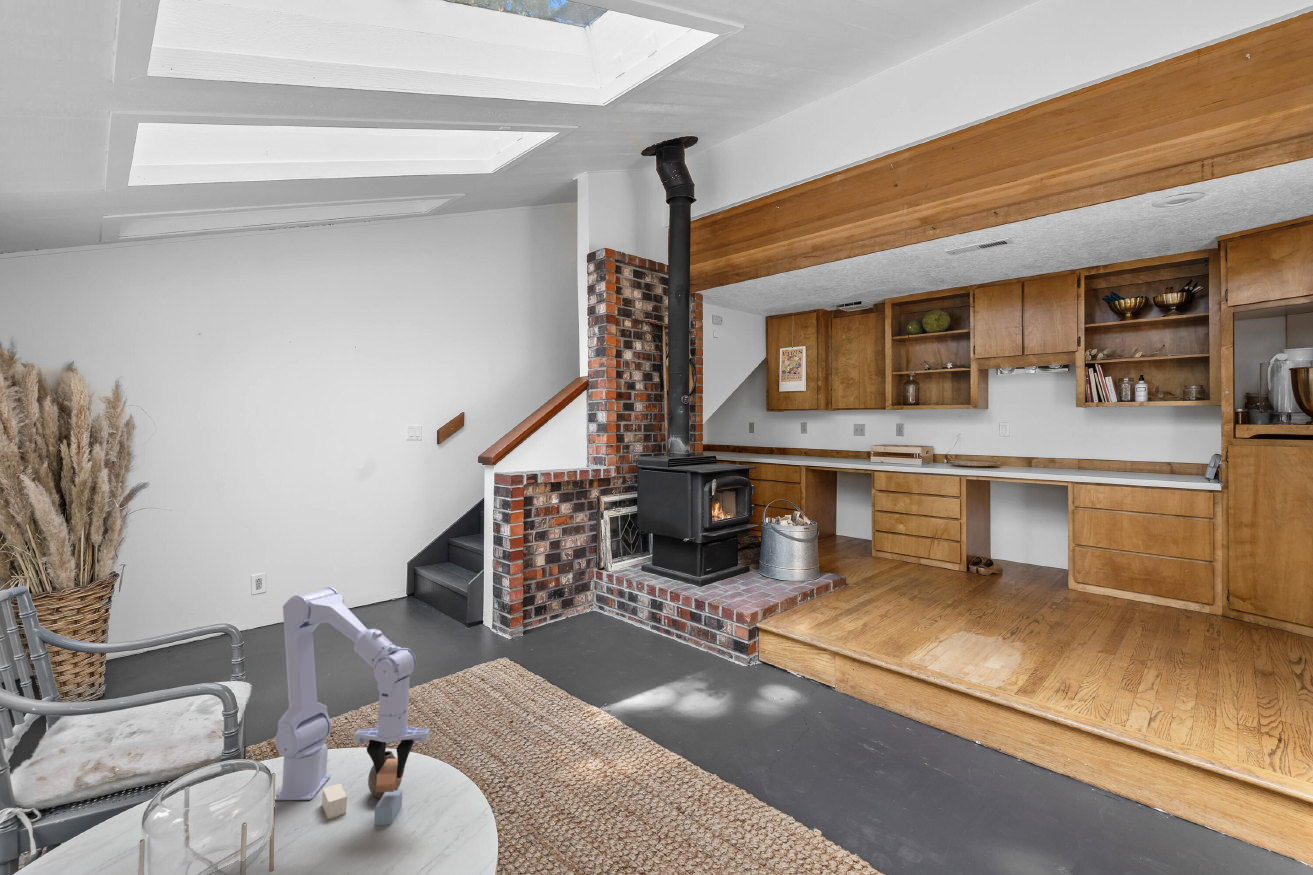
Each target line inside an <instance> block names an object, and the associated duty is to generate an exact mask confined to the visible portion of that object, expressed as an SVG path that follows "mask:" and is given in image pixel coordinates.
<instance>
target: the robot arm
mask: <svg viewBox="0 0 1313 875" xmlns="http://www.w3.org/2000/svg"><path fill="white" fill-rule="evenodd" d="M282 612H283V613H282V614H283V627H284V628H283V632H284V635H283V636H284V645H285V646H284V647H285V664H286V678H287V679H286V680H287V695H288V696H287V697H288V708H287V710H286V711H285V712H284V714H283V715H282V716H281V718H279V720H278V721H277V733H276V735H275V748H276V750H277V752H278V753H279V754H280V756H282V757H283V768H282V769H283V770H282V788H281V789H279V791H278V792H277V793H276V794H275V795H276V800H275V801H304V800H305V801H307V800H309V801H310V800H312V799H313V798H314V797H315V796H316V794H317V793H318V792H319V791H320V790H321V788H322V787H323V786H324V785H325V783H326V782H327V781H328V780H329V779H330V777H331V776H332V775H331V773H327V772H328V767H327V766H328V751H329V749H328V746H327V744H326V739H327V738H328V737H329V736H330V734H331V732H332V721H331V718H330V716H329V713H328V706H327V705H325V704H323V703H321V702H318V694H317V680H316V677H317V676H316V664H315V663H316V662H315V651H314V650H315V647H314V646H315V645H314V633H313V632H314V631H316V628H317V627H319V626H320V624H327V623H328V624H330V625H331V626H332V627H334V628H335V629H336V630H338V632H340V633H341V634H343V635H344V636H346V637H347V638H349V640H350V641H352V642H353V650H354V651H355V653H357V655H359V657H361V658H362V660H364V661H365V662H366V663H367V664H368V665H370V666H371V668H373V675H374V678H375V680H376V683H377V690H378V693H379V696H378V716H377V719H378V720H377V727H373V728H372V727H371V728H366V729H365V728H364V729H357V731H356V732H355V733H354V738H353V739H354V740H353V741H354V744H359V743H361V742H363V743H364V742H367V743H368V745H367V747H366V753H367V754H368V755H369V757H370V759H371V761H372V763H373V765H374V766H375V770H376V774H378V772H379V771H380V769H381V768H382V766H383V765H384V763H385V751H386V749H387V743H393V742H400V743H399V744H398V745H397V747H396V754H397V756H396V759H398V766H397V778H401V776H402V775H403V776H404V773H405V767H406V764H407V760H408V757H409V755H410V752H411V750H412V747H413V745H414V743H415V742H421V743H428V740H429V738H430V728H420V727H416V726H415V727H414V726H408V722H409V719H408V718H409V700H410V699H409V698H410V678H411V676H410V675H412V674H413V673H414V672H415V670H416V669H417V658H416V655H415V654H414V652H413V651H412V650H411V649H410V648H407V647H400V646H397V645H395V644H394V643H393V642H392V641H391V640H390V639H388V637H386V636H385V635H384V634H383V631H381V630H380V629H377V628H370V629H368V628H367V627H366V626H365V625H364V624H363V623H362V621H360V620H359V618H358V617H357V616H356V615H355V614H354V613H353V612H352V611H351V609H349V608H348V607H347V605H345V597H344V595H342V594H341V593H339V591H338V590H337V589H336V588H334V587H332V586H331V587H330V586H328V587H324V588H322V589H318V590H314V591H310V592H307V593H302V594H296V595H293V596H291V597H289V598H288V600H287V601H286V602H285V603H284V604H283V606H282Z"/></svg>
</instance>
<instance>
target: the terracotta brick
mask: <svg viewBox="0 0 1313 875" xmlns="http://www.w3.org/2000/svg"><path fill="white" fill-rule="evenodd" d="M397 766H398V758H396V759H387V761H386V762H385V763H384V765H383V766H382V768H381V769H380V771H379V772H378V774H377V783H376V792H394V790H395V788H396V787H397V785H398V783H399V782H400V780H401V778H403V777H404V774H403V775H402V776H401V778H397ZM401 781H402V780H401Z"/></svg>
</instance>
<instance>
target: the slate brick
mask: <svg viewBox="0 0 1313 875" xmlns="http://www.w3.org/2000/svg"><path fill="white" fill-rule="evenodd" d="M402 802H403V790H402V789H401V790H400V789H399V790H398V789H397V790H394V792H385V793H384V794H383V796H382V798H379V801H378V802H377V803H376V806H375V808H374V826H377V825H378V826H379V825H382V826H383V825H386V826H387V825H393V823H394V822H395V820H396V818H397V816H398V814H399V812H400V810H401V808H402V807H403V803H402Z"/></svg>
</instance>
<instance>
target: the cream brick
mask: <svg viewBox="0 0 1313 875" xmlns="http://www.w3.org/2000/svg"><path fill="white" fill-rule="evenodd" d="M321 793H322V794H321V795H322V796H321V806H322V809H323V811H324V813H325V816H326V818H327V820H330V819H333V818H336V817H338V816H341V815H345V814H347V804H348V796H347V794H346V792H345V789H344V788H343V786H342V784H341V783H337V784H334V785H331V786H330V785H329V786H328V787H327V786H326V787H324V788H322V792H321Z"/></svg>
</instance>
